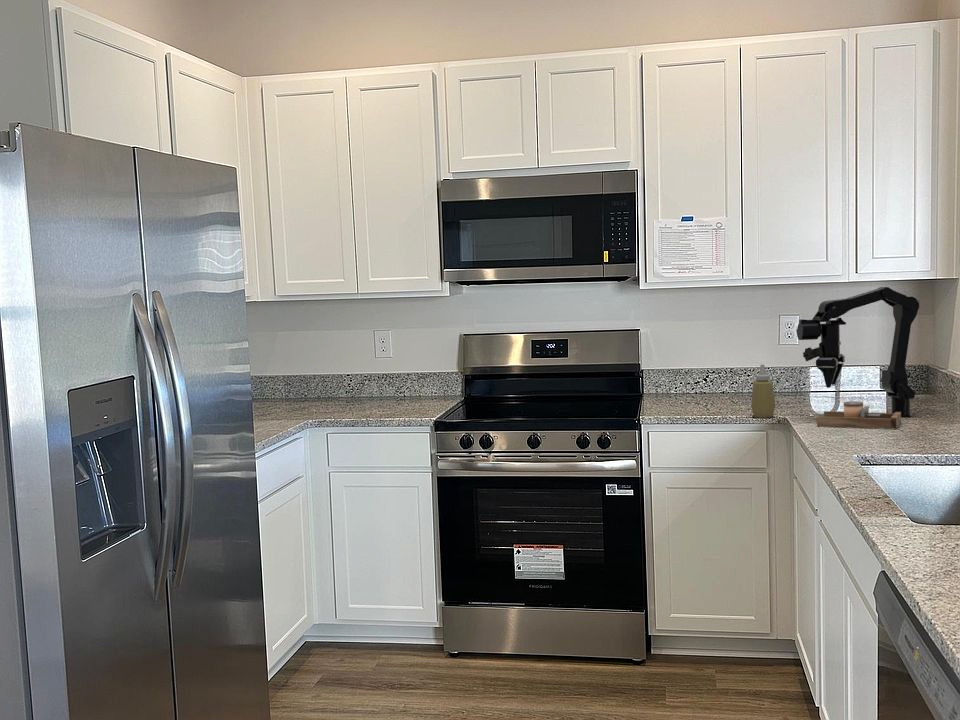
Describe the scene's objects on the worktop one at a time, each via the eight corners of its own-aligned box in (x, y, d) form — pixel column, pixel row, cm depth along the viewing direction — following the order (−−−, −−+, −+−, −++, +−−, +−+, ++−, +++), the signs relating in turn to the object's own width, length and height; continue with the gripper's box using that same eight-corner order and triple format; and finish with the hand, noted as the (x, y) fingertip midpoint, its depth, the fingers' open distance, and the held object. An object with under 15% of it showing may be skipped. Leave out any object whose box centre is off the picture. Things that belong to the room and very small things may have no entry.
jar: (845, 419, 301) (844, 401, 301) (864, 420, 299) (864, 401, 298) (842, 422, 296) (842, 403, 296) (862, 422, 294) (861, 403, 293)
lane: (824, 420, 308) (824, 409, 308) (901, 422, 297) (901, 411, 297) (817, 426, 296) (816, 415, 296) (896, 429, 285) (896, 417, 285)
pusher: (865, 418, 301) (865, 406, 300) (882, 419, 298) (882, 406, 298) (860, 423, 292) (860, 410, 291) (878, 423, 289) (878, 410, 289)
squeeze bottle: (746, 416, 324) (745, 364, 322) (765, 414, 326) (764, 363, 325) (761, 419, 316) (760, 366, 315) (780, 417, 319) (780, 364, 318)
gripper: (810, 337, 320) (810, 383, 322) (799, 341, 304) (799, 388, 305) (844, 337, 315) (845, 383, 316) (835, 340, 299) (836, 389, 300)
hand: (830, 386), depth 310 cm, fingers open, 9 cm apart
